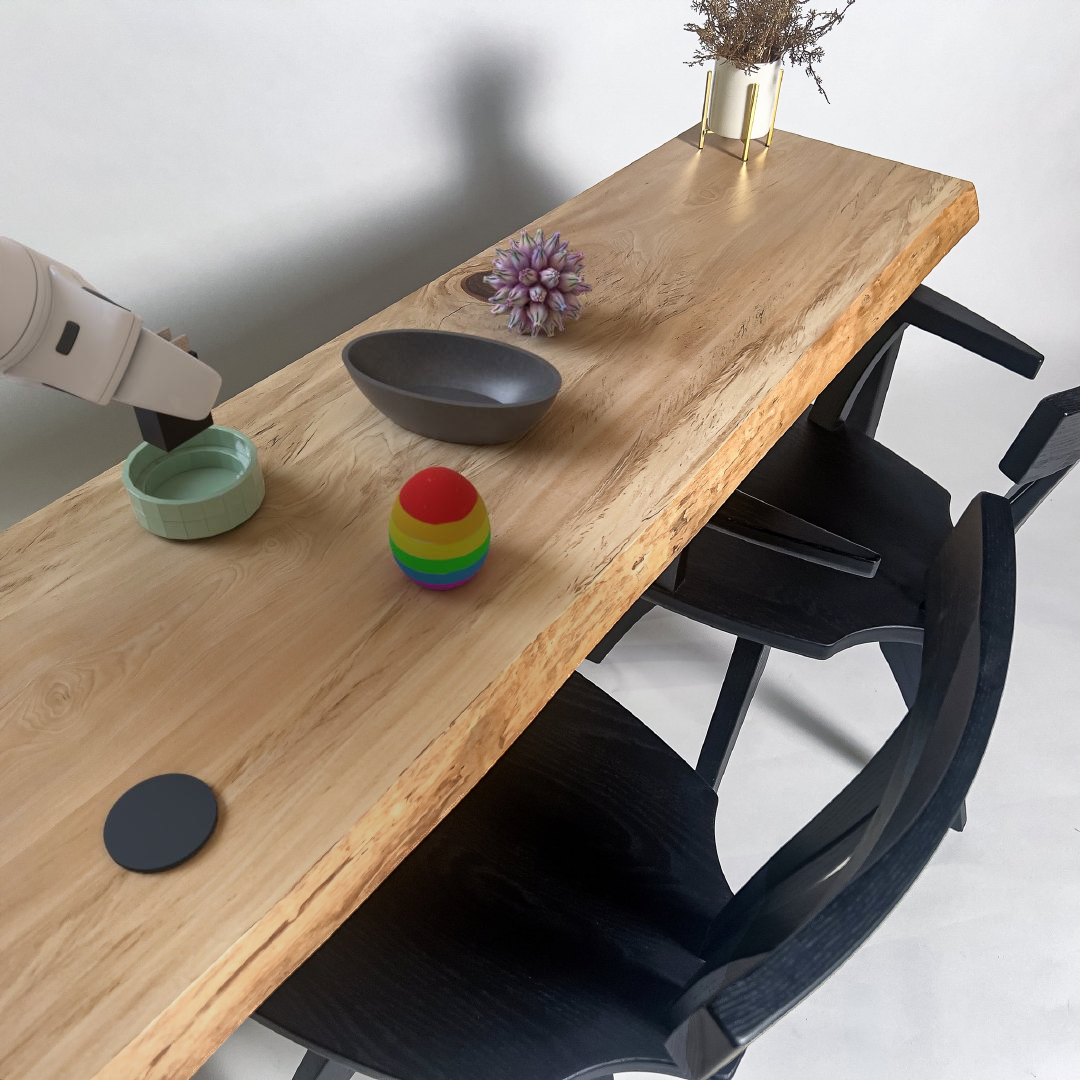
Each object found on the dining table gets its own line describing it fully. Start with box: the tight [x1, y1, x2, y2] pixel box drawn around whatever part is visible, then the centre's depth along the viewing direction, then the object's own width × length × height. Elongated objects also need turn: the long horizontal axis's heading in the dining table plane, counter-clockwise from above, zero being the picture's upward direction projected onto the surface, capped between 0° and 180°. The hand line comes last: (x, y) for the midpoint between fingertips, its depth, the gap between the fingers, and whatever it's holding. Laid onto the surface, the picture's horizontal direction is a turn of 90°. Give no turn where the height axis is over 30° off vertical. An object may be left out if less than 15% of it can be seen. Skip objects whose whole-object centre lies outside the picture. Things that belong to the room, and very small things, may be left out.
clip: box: [132, 326, 215, 453], centre depth 78 cm, size 5×3×9 cm, turn 147°
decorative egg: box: [388, 466, 492, 591], centre depth 77 cm, size 8×8×10 cm
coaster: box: [102, 772, 219, 874], centre depth 62 cm, size 7×7×1 cm
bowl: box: [341, 328, 563, 446], centre depth 94 cm, size 12×22×6 cm, turn 71°
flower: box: [482, 228, 593, 340], centre depth 106 cm, size 12×12×12 cm
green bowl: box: [121, 424, 266, 540], centre depth 85 cm, size 11×11×4 cm
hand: (171, 378), depth 78 cm, fingers closed on clip, 3 cm apart
